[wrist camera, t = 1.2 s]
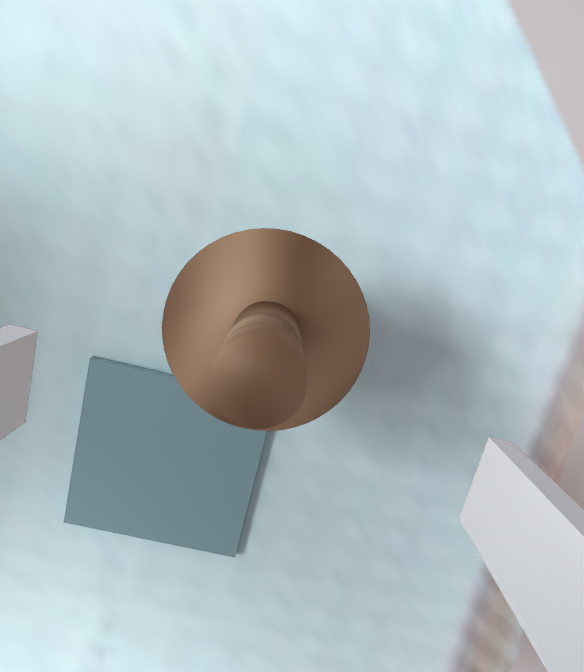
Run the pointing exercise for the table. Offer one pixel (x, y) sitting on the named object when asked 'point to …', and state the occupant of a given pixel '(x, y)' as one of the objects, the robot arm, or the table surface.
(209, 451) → the mat
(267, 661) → the table surface
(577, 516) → the robot arm
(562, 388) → the table surface
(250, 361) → the lid
